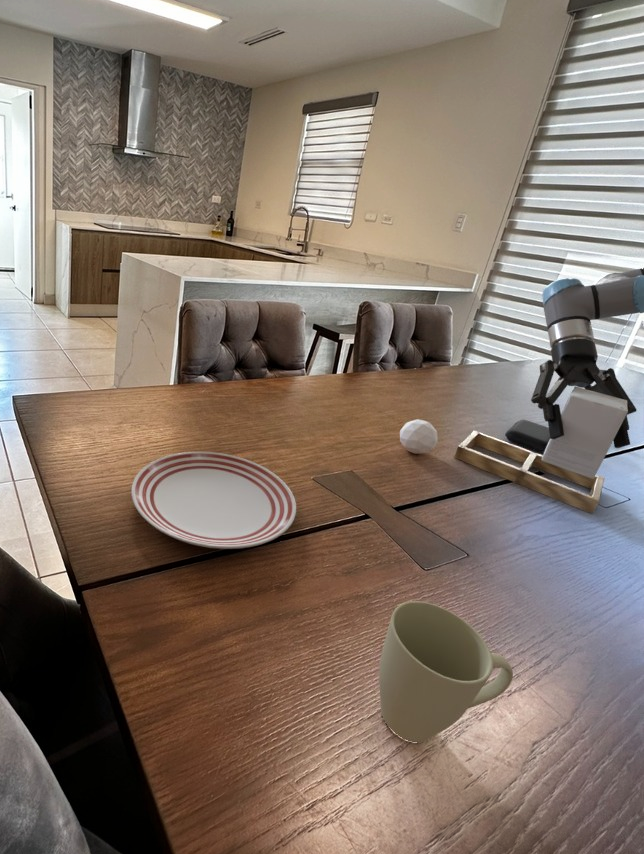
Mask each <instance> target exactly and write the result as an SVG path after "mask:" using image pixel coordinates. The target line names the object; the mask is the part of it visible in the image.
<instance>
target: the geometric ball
mask: <svg viewBox="0 0 644 854" xmlns="http://www.w3.org/2000/svg"><path fill="white" fill-rule="evenodd" d="M399 442H400V443H401V444H402V446H403V447H404V448H405V450H406V451H407V452H410V453H412V454H415V455H416V454H417V455H421V454H425V453H429V452H431V451H432V450H433V449H434V448H435V446H436V445H437V444H438V431H437V430H436V428H435V427H434V426H433V425H432V423H431V422H430V421H426V420H423V419H420V418H419V419H418V418H417V419H414V420H411V421H407V422H405V424H404V425H403V426H402V428H401V429H400V430H399Z"/></svg>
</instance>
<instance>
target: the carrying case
mask: <svg viewBox="0 0 644 854" xmlns="http://www.w3.org/2000/svg"><path fill="white" fill-rule="evenodd" d="M505 437H506V439H507V440H508V441H509V442H510V443H511V442H512V443H514V444H515V445H519V446H521V447H524V448H526V449H529V450H531V451H534V452H537V453H544V451H545V449H546V447H547V444H548V442H549V440H550V433H549V426H546V425H543V424H540V423H536V422H534V421H532V420H528V419H520V420H518V421H516V422H515V423H514V424H513V425H512V426H511V427H510V428H508V430H507V431H506V432H505Z"/></svg>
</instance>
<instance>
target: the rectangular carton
mask: <svg viewBox="0 0 644 854" xmlns="http://www.w3.org/2000/svg"><path fill="white" fill-rule="evenodd" d="M627 413H628V408H627V400H624V399H620V398H616V397H612V396H609V395H605V394H601V393H598V392H594V391H590V390H586V389H585V388H581V387H577V386H573V389H572V390H571V393H570V394H569V396H568V399H567V400H566V402H565V405H564V407H563V409H562V411H561V418H562V424H563V431H564V436H561V437H559V438H556V439H550V440H549V442H548V444H547V447H546V449H545V451H544V452H543V454H542V455H543V457H542V461H544V462H547V463H550V464H553V465H555V466H558V467H561V468H564V469H567V470H569V471H572V472H575V473H578V474H581V475H583V476H586V477H589V478H592V479H594V477H595V475H597V473H598V472H599V469H600V467H601V465H602V464H603V461H604V460H605V458H606V456H607V453H608V451H609V450H610V447H611V446H612V444H613V443H614V442H613V440H614V438H615V436H616V434H617V432H618V430H619V428H620V426H621V424H622V422H623V420H624V418H625V416H626V415H627ZM627 416H628V415H627Z"/></svg>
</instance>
